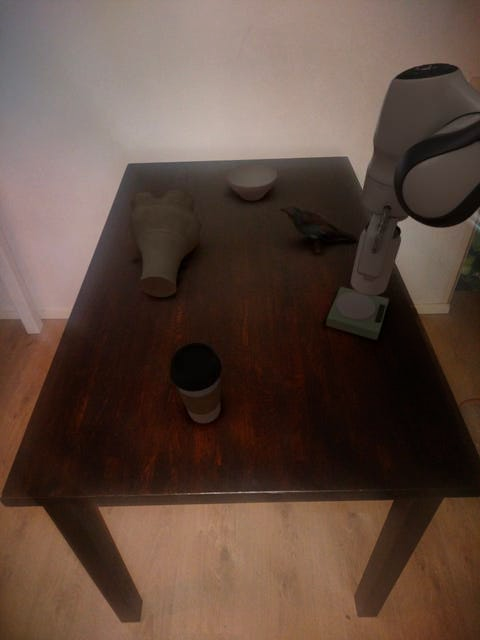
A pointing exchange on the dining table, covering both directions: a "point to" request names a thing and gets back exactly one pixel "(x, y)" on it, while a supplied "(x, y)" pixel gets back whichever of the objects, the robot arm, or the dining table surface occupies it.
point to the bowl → (252, 180)
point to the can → (382, 282)
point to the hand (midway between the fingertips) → (373, 264)
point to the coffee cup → (198, 380)
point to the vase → (163, 237)
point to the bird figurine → (315, 227)
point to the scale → (357, 313)
